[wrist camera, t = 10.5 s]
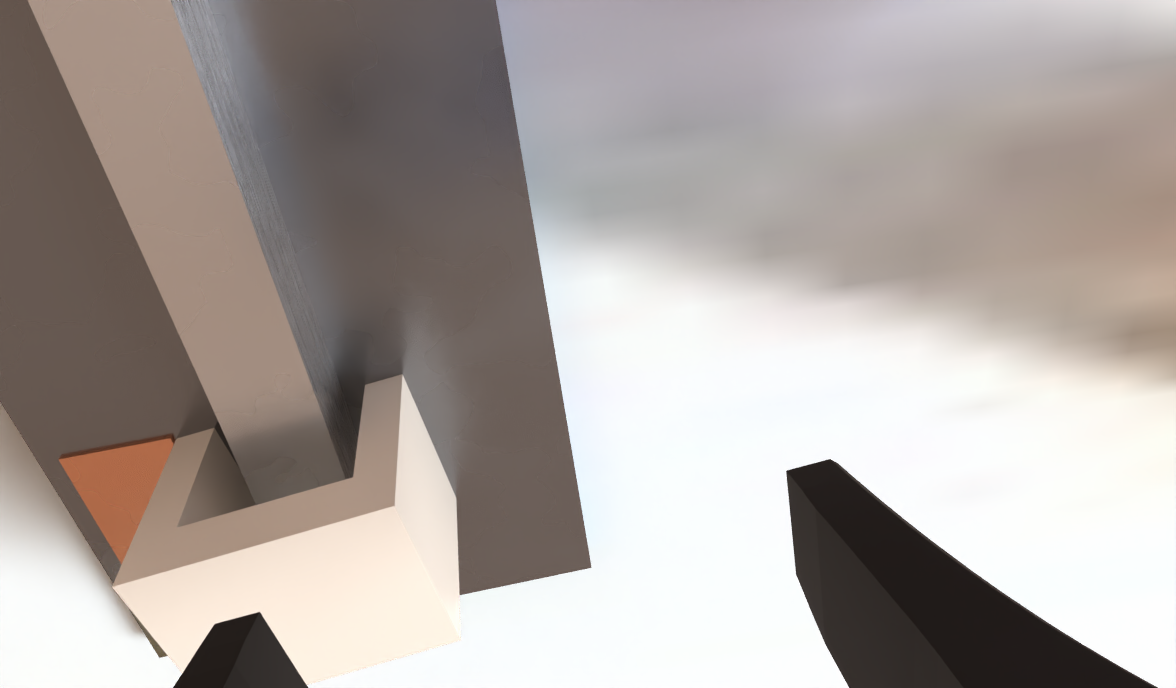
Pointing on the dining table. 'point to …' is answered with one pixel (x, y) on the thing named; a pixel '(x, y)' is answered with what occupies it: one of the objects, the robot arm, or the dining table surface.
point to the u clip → (305, 550)
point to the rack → (276, 258)
